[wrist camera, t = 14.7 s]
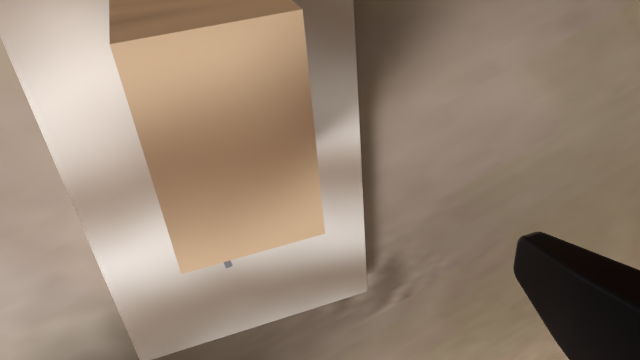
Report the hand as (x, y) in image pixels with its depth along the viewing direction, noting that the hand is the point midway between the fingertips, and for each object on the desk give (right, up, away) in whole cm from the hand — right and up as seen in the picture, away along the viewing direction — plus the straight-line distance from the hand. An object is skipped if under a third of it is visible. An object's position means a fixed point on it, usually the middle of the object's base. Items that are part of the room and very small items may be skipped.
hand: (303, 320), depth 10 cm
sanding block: (-4, +6, +9) cm, 11 cm away
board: (-4, +3, +12) cm, 13 cm away
